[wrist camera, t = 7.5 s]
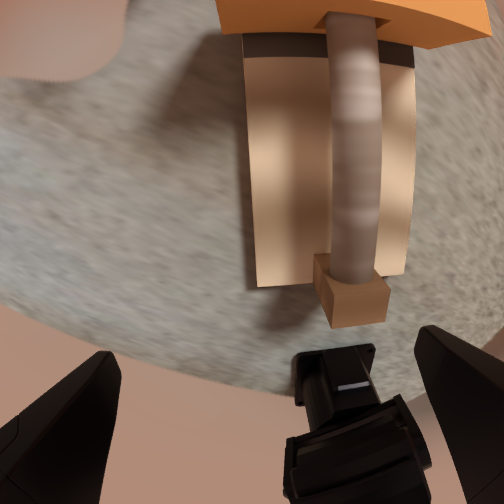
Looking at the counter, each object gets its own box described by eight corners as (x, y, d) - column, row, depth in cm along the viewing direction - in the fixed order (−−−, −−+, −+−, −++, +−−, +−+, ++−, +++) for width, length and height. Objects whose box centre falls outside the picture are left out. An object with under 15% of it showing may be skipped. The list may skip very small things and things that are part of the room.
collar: (428, 49, 13) (491, 36, 8) (222, 34, 13) (214, -6, 8) (425, 21, 13) (484, -1, 7) (220, 2, 12) (212, -47, 7)
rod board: (396, 266, 21) (437, 312, 15) (256, 277, 21) (262, 335, 15) (393, -16, 13) (440, -47, 7) (237, -30, 13) (236, -81, 7)
